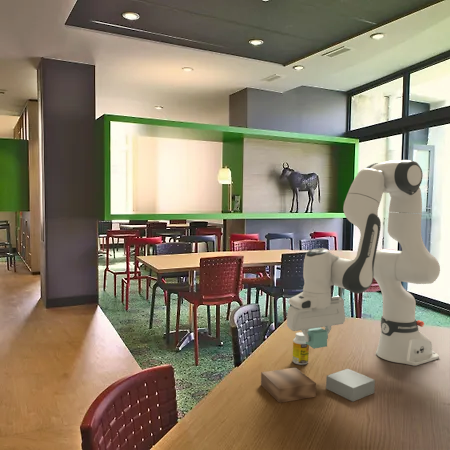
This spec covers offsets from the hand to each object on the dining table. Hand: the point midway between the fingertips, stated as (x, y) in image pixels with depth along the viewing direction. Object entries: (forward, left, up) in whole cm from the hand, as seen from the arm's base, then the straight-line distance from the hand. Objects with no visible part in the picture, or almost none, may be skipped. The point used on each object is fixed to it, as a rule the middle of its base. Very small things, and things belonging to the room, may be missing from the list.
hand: (316, 339), depth 143 cm
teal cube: (0, 0, -2) cm, 2 cm away
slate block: (-3, +14, -11) cm, 18 cm away
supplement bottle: (0, -10, -12) cm, 15 cm away
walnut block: (+15, +8, -11) cm, 20 cm away
